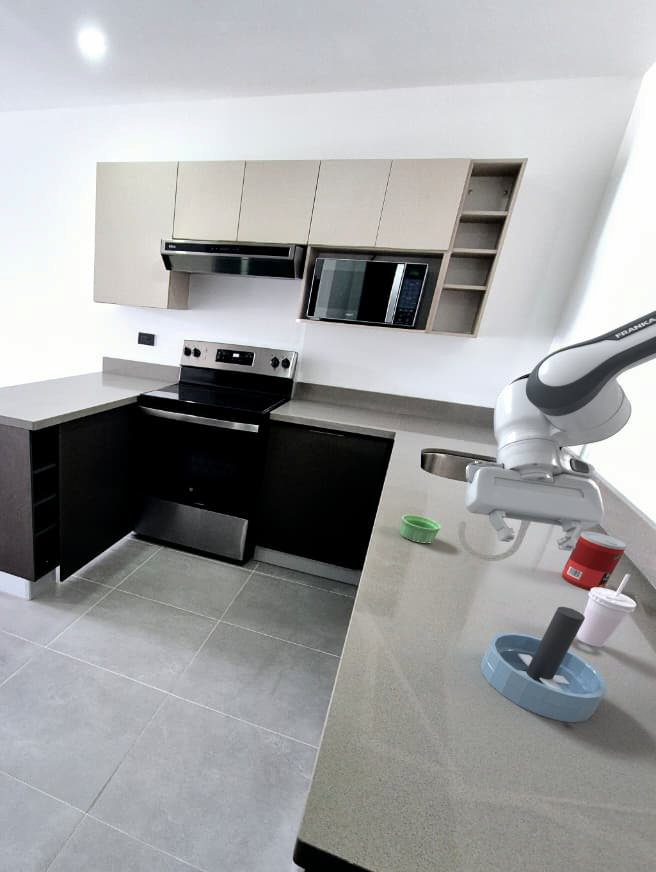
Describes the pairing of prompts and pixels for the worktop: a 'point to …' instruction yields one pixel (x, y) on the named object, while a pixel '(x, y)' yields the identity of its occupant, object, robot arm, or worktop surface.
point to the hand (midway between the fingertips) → (536, 544)
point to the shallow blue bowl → (534, 695)
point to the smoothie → (604, 614)
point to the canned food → (593, 560)
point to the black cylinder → (553, 648)
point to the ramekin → (419, 528)
